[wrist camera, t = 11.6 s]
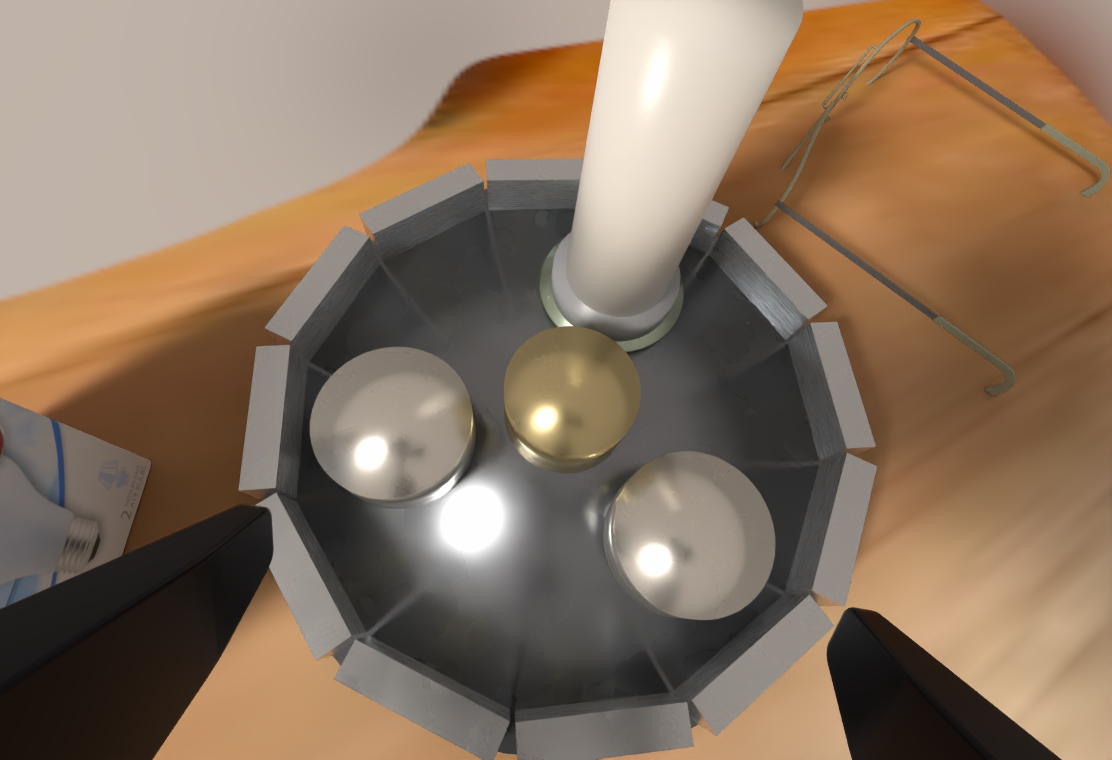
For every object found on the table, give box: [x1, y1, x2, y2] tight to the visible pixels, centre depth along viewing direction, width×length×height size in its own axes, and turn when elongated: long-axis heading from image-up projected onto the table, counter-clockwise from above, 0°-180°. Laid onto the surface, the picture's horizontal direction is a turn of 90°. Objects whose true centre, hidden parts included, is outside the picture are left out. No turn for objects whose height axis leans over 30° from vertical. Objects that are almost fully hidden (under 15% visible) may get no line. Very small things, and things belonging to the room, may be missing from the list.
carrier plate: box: [238, 159, 877, 760], centre depth 22 cm, size 24×24×4 cm
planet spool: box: [551, 0, 803, 342], centre depth 19 cm, size 6×6×13 cm
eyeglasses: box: [755, 19, 1111, 396], centre depth 28 cm, size 16×15×5 cm
